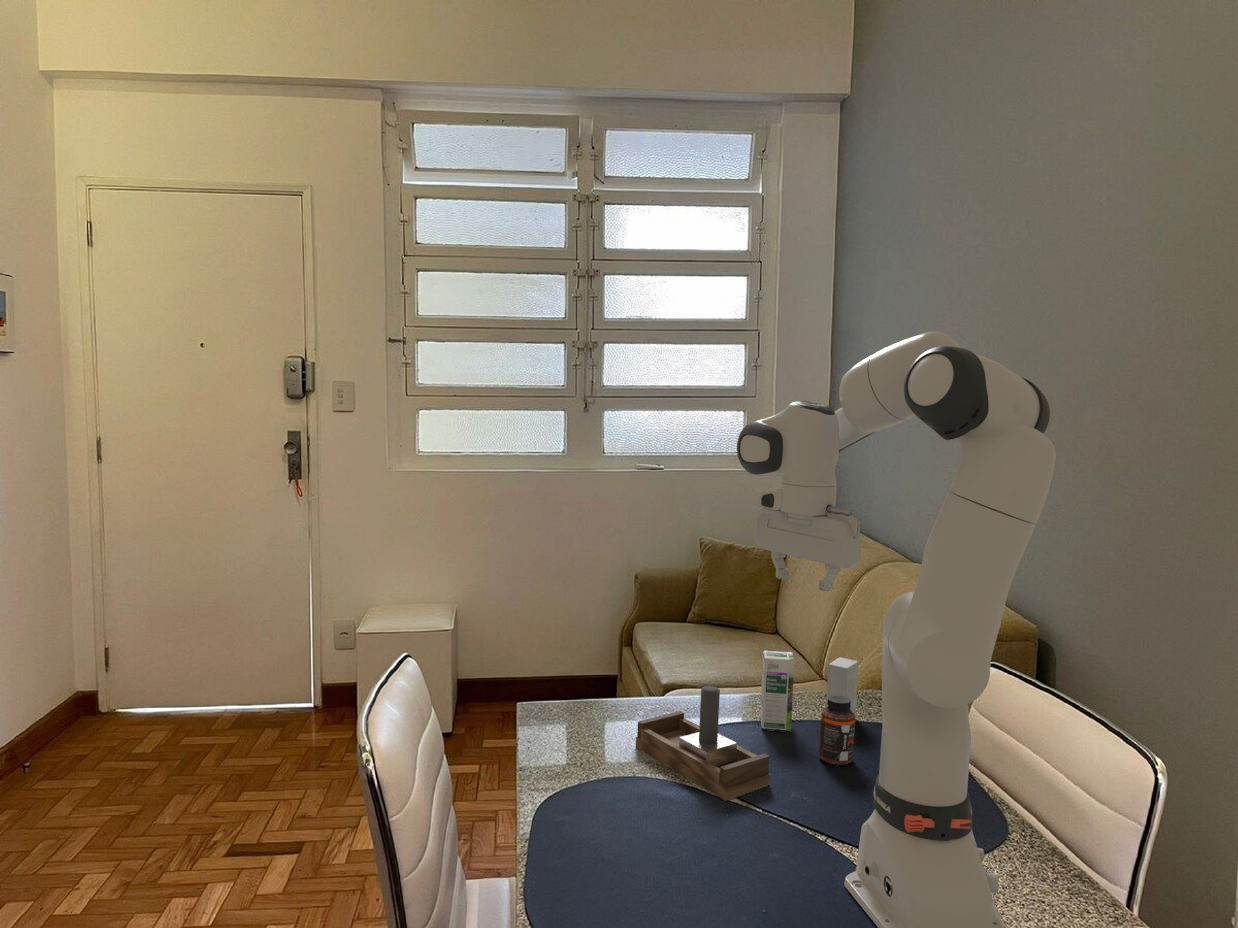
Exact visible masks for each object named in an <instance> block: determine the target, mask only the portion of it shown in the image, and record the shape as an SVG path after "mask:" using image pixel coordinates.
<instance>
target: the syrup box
mask: <svg viewBox="0 0 1238 928" xmlns="http://www.w3.org/2000/svg"><path fill="white" fill-rule="evenodd" d="M794 676H795V658H794V654H793V651H775V650H772V651H771V650H763V652H762V672H761V692H760V693H761V694H760V695H761V696H760V717H759V719H760V720H759V721H760V725H761V729H762V728H769V729H780V730H791V731H792V720H793V719H792V718H793V717H792V715H793V700H794V699H793V697H794V679H795V677H794Z"/></svg>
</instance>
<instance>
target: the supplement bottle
mask: <svg viewBox="0 0 1238 928" xmlns="http://www.w3.org/2000/svg"><path fill="white" fill-rule="evenodd" d="M827 705H828V707H823V709H821V716H820V726H819V727H820V729H819V730H820V731H819V747H818V757H819V756H820V757H819V759H820V760H821V759H822V761H823V760H824V761H826V762H829V763H835V764H841V765H843V764H847V763H850V764H851V763H852V761H853V759H854V758H853V757H854V743H855V742H854V741H855V731H856V730H855V729H856V728H855V727H856V716H855V714H854V712H853V711H851V709H850V707H851V701H850V699H849V698H847V697H844V696H838V695H834V696H829V697H828V702H827ZM824 761H823V762H824ZM826 762H825V763H826ZM829 763H828V764H829Z"/></svg>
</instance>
